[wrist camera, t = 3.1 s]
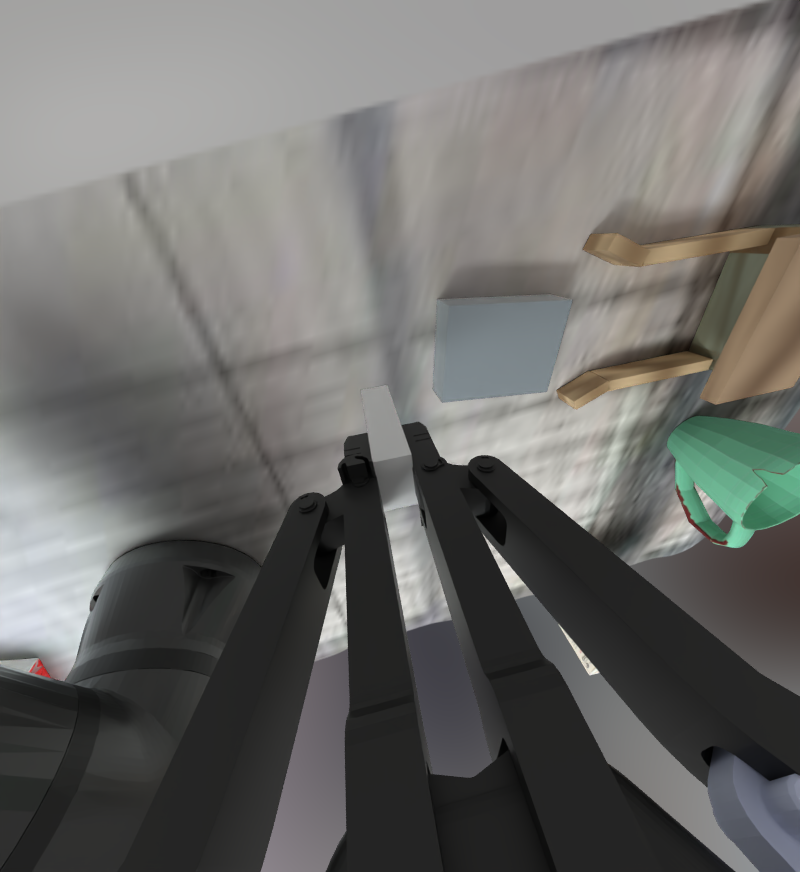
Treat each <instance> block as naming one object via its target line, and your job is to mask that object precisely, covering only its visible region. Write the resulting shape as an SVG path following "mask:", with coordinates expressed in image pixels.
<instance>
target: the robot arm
mask: <svg viewBox="0 0 800 872" xmlns="http://www.w3.org/2000/svg"><path fill="white" fill-rule="evenodd" d="M361 395H362V402H363V408H364V414H365V420H366V426H367V432H368V433H364V434H359V435H354V436H349V437H348V438H347V439H346V441H345V443H344V456H345V458H344V459H343V460H342V461H341V462H340V463H339V465H338V471H339V474H340V477H341V480H342V484H343V485H342V486H341V487H340V488H339V489H338V490H337V491H335V492H333V493H332V494H329V495H327V496H325V497H324V496H323V495H321V494H320V493H314V492H313V493H307V494H304V495H302V496H300V497H299V498H297V499H296V500H295V501H294V502H293V503H292V505H291V506H290V508H289V510H288V512H287V515H286V517H285V519H284V521H283V523H282V525H281V527H280V530H279V532H278V534H277V536H276V538H275V540H274V542H273V544H272V547H271V549H270V551H269V553H268V555H267V557H266V559H265V562H264V564H263V566H262V568H261V567H260V566H259V564H257V563H256V562H255V561H254V560H253V559H251V558H250V557H248V556H247V555H245V554H243V553H241V552H239V551H237V550H234V549H232V548H229V547H226V546H222V545H218V544H213V543H208V542H200V541H168V542H161V543H155V544H150V545H146V546H143V547H140V548H137V549H135V550H132V551H130V552H128V553H126V554H124V555H123V556H121V557H120V558H118V559H117V560H116V561H115V562H114V563H113V564H112V565H111V566H110V567H109V569H108V570H107V572H106V573H105V575H104V576H103V578H102V579H101V581H100V582H99V584H98V585H97V587H96V588H95V590H94V592H93V595H92V598H91V601H90V614H89V617H88V619H87V622H86V625H85V628H84V631H83V634H82V638H81V642H80V646H79V650H78V654H77V658H76V661H75V664H74V666H73V668H72V670H71V672H70V673H69V675H68V677H67V678H66V680H65V682H63V681H60V680H56V679H52V678H48V677H45V676H41V675H37V674H34V673H30V672H26V671H23V670H19V669H15V668H12V667H8V666H4V665H1V664H0V872H260V871H261V868H262V865H263V861H264V858H265V854H266V851H267V847H268V844H269V840H270V837H271V833H272V829H273V826H274V822H275V818H276V814H277V810H278V805H279V801H280V797H281V793H282V789H283V785H284V781H285V777H286V773H287V769H288V765H289V761H290V757H291V752H292V749H293V744H294V741H295V737H296V733H297V729H298V724H299V720H300V716H301V712H302V708H303V704H304V700H305V696H306V692H307V688H308V684H309V680H310V676H311V671H312V668H313V663H314V660H315V656H316V652H317V648H318V644H319V640H320V635H321V631H322V627H323V623H324V619H325V615H326V611H327V607H328V603H329V599H330V595H331V591H332V587H333V583H334V579H335V575H336V571H337V567H338V563H339V559H340V555H341V550H342V545H344V544H345V568H346V599H347V630H348V661H349V689H350V708H349V714H348V717H347V720H346V728H345V773H346V774H345V780H346V826H347V827H346V829H347V831H346V832H345V834H344V835H343V837H342V839H341V840H340V842H339V844H338V846H337V848H336V850H335V852H334V854H333V856H332V858H331V861H330V863H329V865H328V868H327V870H326V872H735V871H734V870H733V869H732V868H730V867H729V866H728V865H727V864H725V862H723V861H722V860H721V859H720V858H719V857H718V856H717V855H715V854H714V853H713V852H712V851H711V850H710V849H708V848H707V847H706V846H705V845H704V844H703V843H701V842H700V841H699V840H698V839H697V838H696V837H694V836H693V835H692V834H691V833H690V832H689V831H688V830H687V829H685V828H684V827H683V826H682V825H681V824H680V823H678V822H677V821H676V820H675V819H674V818H672V816H670V815H669V814H668V813H667V812H666V811H664V810H663V809H662V808H661V807H660V806H659V805H658V804H657V803H655V802H654V801H653V800H652V799H651V798H650V797H648V796H647V795H646V794H645V793H644V792H643V791H642V790H640V789H639V788H638V787H637V786H636V785H635V784H633V783H632V782H631V781H630V780H628V778H626V777H625V776H624V775H623V774H622V773H620V772H619V771H618V770H616V769H615V768H614V767H612V766H611V765H609V764H608V763H607V762H606V760H605V758H604V756H603V754H602V752H601V750H600V748H599V746H598V744H597V742H596V740H595V738H594V736H593V734H592V733H591V731H590V729H589V727H588V725H587V723H586V721H585V719H584V717H583V715H582V713H581V711H580V709H579V707H578V705H577V703H576V701H575V700H574V698H573V696H572V694H571V692H570V690H569V688H568V686H567V684H566V682H565V681H564V679H563V677H562V675H561V674H560V672H559V671H558V669H557V668H556V667H555V666H554V664H553V663H551V662H550V661H548V660H547V659H546V658H545V657H544V656H543V655H542V653H541V651H540V650H539V648H538V646H537V644H536V642H535V640H534V638H533V636H532V634H531V632H530V630H529V628H528V626H527V624H526V622H525V620H524V618H523V616H522V614H521V611H520V609H519V607H518V606H517V603H516V601H515V599H514V597H513V595H512V593H511V591H510V589H509V587H508V585H507V583H506V581H505V579H504V577H503V575H502V573H501V571H500V569H499V567H498V565H497V563H496V561H495V559H494V557H493V555H492V553H491V550H490V548H489V546H488V544H487V542H486V540H485V538H484V536H485V537H486V538H487V539H488V540H489V542H490V543H491V544H492V545H493V546H494V548H495V549H496V550H497V551H498V552H499V553H500V555H501V556H502V557H503V558H504V559H505V561H506V562H507V563H508V564H509V565H510V567H511V568H512V569H513V570H514V571H515V572H516V574H517V575H518V576H519V577H520V578H521V580H522V581H523V582H524V583H525V584H526V586H527V587H528V588H529V589H530V590H531V591H532V593H533V594H534V595H535V596H536V597H537V598H538V600H539V601H540V602H541V603H542V604H543V606H544V607H545V608H546V609H547V611H548V612H549V613H550V614H551V615H552V616H553V617H554V619H555V620H556V621H557V622H558V624H559V625H560V626H561V627H562V628H563V630H564V631H565V632H566V633H567V634H568V635H569V637H570V638H571V639H572V640H573V641H574V643H575V644H576V645H577V646H578V647H579V649H580V650H581V651H582V652H583V653H584V655H585V656H586V657H587V658H588V659H589V660H590V662H591V663H592V664H593V665H594V666H595V668H596V669H597V670H598V671H599V672H600V674H601V675H602V676H603V677H604V678H605V679H606V681H607V682H608V683H609V684H610V685H611V686H612V688H613V689H614V690H615V691H616V693H617V694H618V695H619V696H620V697H621V699H622V700H623V701H624V702H625V703H626V704H627V705H628V707H629V708H630V709H631V710H632V711H633V713H634V714H635V715H636V716H637V717H638V719H639V720H640V721H641V722H642V723H643V724H644V725H645V726H646V728H647V729H648V730H649V731H650V732H651V733H652V734H653V735H654V737H655V738H656V739H657V740H658V741H659V742H660V743H661V744H662V745H663V746H664V747H665V748H666V749H667V750H668V751H669V752H670V753H671V754H672V755H673V756H674V757H675V758H676V759H677V760H678V761H679V762H680V763H681V764H682V765H683V766H684V767H685V768H686V769H687V770H688V771H689V772H690V773H691V774H693V775H694V776H695V777H696V778H697V779H698V780H699V781H701V782H702V783H703V784H704V785H705V786H706V787H708V794H709V798H710V801H711V805H712V808H713V814H714V816H715V819H716V821H717V823H718V825H719V827H720V828H721V829H722V831H723V832H724V833H725V835H726V836H727V837H728V838H729V839H730V840H731V841H732V842H734V843H735V844H736V846H737V847H738V848H739V849H740V850H741V851H742V852H743V854H744V855H745V856H746V857H747V858H748V859H749V860H750V861H751V863H752V864H753V865H754V866H755V867H756V868H757V869H758V870H759V872H800V696H798V695H796V694H794V693H793V692H791V691H789V690H788V689H786V688H784V687H782V686H781V685H779V684H777V683H776V682H774V681H772V680H770V679H769V678H767V677H765V676H763V675H762V674H760V673H759V672H757V671H756V670H755V669H754V668H753V667H752V666H750V665H749V664H748V663H747V662H746V661H744V660H743V659H742V658H741V657H739V656H738V655H737V654H736V653H734V652H733V651H732V650H731V649H730V648H728V647H727V646H726V645H725V644H724V643H722V642H721V641H720V640H719V639H717V638H716V637H715V636H714V635H713V634H711V633H710V632H709V631H708V630H707V629H705V628H704V627H703V626H702V625H700V624H699V623H698V622H697V621H695V620H694V619H693V618H692V617H690V616H689V615H688V614H687V613H686V612H685V611H683V610H682V609H681V608H680V607H678V606H677V605H676V604H675V603H673V602H672V601H671V600H670V599H669V598H667V597H666V596H665V595H664V594H663V593H661V592H660V591H659V590H658V589H657V588H655V587H654V586H653V585H652V584H650V583H649V582H648V581H646V580H645V579H644V578H643V577H642V576H640V575H639V574H638V573H637V572H636V571H634V570H633V569H632V568H631V567H630V566H628V565H627V564H626V563H625V562H624V561H622V560H621V559H620V558H619V557H617V556H616V555H615V554H614V553H613V552H611V551H610V550H609V549H608V548H607V547H605V546H604V545H603V544H602V543H600V542H599V541H598V540H597V539H596V538H594V537H593V536H592V535H591V534H589V533H588V532H587V531H586V530H585V529H583V528H582V527H581V526H580V525H578V524H577V523H576V522H575V521H574V520H572V519H571V518H570V517H569V516H567V515H566V514H565V513H564V512H563V511H561V510H560V509H559V508H558V507H557V506H555V505H554V504H553V503H552V502H550V501H549V500H548V499H547V498H546V497H544V496H543V495H542V494H541V493H539V492H538V491H537V490H536V489H535V488H533V487H532V486H531V485H530V484H528V483H527V482H526V481H525V480H524V479H522V478H521V477H520V476H519V475H517V474H516V473H515V472H514V471H513V470H511V469H510V468H509V467H508V466H506V465H505V464H504V463H503V462H502V461H500V460H499V459H497V458H495V457H492V456H488V455H481V456H477V457H475V458H473V459H471V460H470V462H469V463H468V465H453V464H449V463H447V461H446V460H445V459H444V458H442V457H440V456H439V453H438V451H437V449H436V447H435V445H434V443H433V441H432V439H431V437H430V435H429V433H428V430H427V428H426V426H424V425H423V424H421V423H420V422H415V423H410V424H405V425H401V423H400V420H399V417H398V414H397V412H396V409H395V406H394V403H393V400H392V397H391V394H390V392H389V389H388V386H387V385H384V386H378V387H373V388H368V389H362V390H361ZM417 500H418V501H417ZM418 503H419V508H420V516H421V524H422V526H424V528H425V531H426V535H427V538H428V541H429V545H430V548H431V551H432V555H433V558H434V561H435V564H436V568H437V571H438V574H439V578H440V581H441V584H442V588H443V591H444V594H445V597H446V601H447V604H448V607H449V611H450V614H451V617H452V621H453V624H454V627H455V631H456V634H457V637H458V640H459V644H460V647H461V650H462V654H463V657H464V660H465V663H466V667H467V670H468V674H469V677H470V680H471V683H472V687H473V690H474V693H475V696H476V700H477V703H478V707H479V710H480V714H481V719H482V724H483V729H484V733H485V737H486V741H487V744H488V748H489V751H490V755H491V758H492V761H493V763H491V764H490V765H489V766H488V767H486V768H485V769H484V770H483V771H482V772H480V773H479V774H478V775H476V776H475V777H472V778H463V777H454V776H444V775H434V774H433V773H432V767H431V762H430V756H429V751H428V746H427V742H426V737H425V732H424V726H423V721H422V715H421V710H420V705H419V700H418V694H417V688H416V682H415V677H414V671H413V666H412V661H411V655H410V649H409V644H408V639H407V633H406V627H405V622H404V616H403V611H402V605H401V600H400V594H399V589H398V583H397V578H396V572H395V567H394V561H393V556H392V550H391V545H390V539H389V534H388V529H387V523H386V518H385V514H384V512H385V511H390V510H394V509H399V508H403V507H408V506H412V505H417V504H418ZM482 533H483V534H484V536H483V534H482Z"/></svg>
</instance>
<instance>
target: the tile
mask: <svg viewBox="0 0 800 872" xmlns="http://www.w3.org/2000/svg"><path fill="white" fill-rule="evenodd" d="M572 301H573V300H572V299H568V298H564V297H560V296H556V295H552V294H539V295H518V296H496V297H474V298H452V299H437V311H436V331H435V351H434V370H433V390H434V392H435V393H436V395H437V396H438V397H439V399H440V400H441V402H452V401H462V400H472V399H482V398H492V397H502V396H511V395H521V394H531V393H541V392H547V390H548V386H549V383H550V379H551V376H552V372H553V368H554V365H555V361H556V358H557V354H558V351H559V347H560V344H561V340H562V336H563V333H564V329H565V326H566V322H567V319H568V315H569V311H570V308H571V304H572Z"/></svg>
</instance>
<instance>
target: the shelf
mask: <svg viewBox="0 0 800 872" xmlns="http://www.w3.org/2000/svg"><path fill="white" fill-rule="evenodd" d="M583 250H584V251H586V252H588V253H590V254H592V255H594V256H597V257H599V258H601V259H603V260H605V261H607V262H609V263H611V264H613V265H622V266H635V267H641V266H647V265H653V264H658V263H664V262H670V261H676V260H682V259H687V258H693V257H699V256H705V255H710V254H716V253H722V252H728V251H730V253H729V255H728V258H727V260H726V263H725V265H724V267H723V270H722V272H721V274H720V277H719V279H718V282H717V284H716V286H715V289H714V291H713V294H712V296H711V298H710V301H709V303H708V305H707V308H706V310H705V313H704V315H703V317H702V320H701V322H700V324H699V327H698V329H697V332H696V334H695V336H694V339H693V341H692V343H691V346H690V348H689V351H684V352H680V353H675V354H670V355H665V356H660V357H655V358H650V359H645V360H641V361H636V362H631V363H626V364H621V365H616V366H611V367H606V368H602V369H597V370H592V371H587V372H586V373H584V374H583V375H581V376H579V377H578V378H576V379H574V380H573V381H571V382H570V383H568V384H566V385H565V386H563V387H561V388H560V389H558V390H557V393H558V396H559V398H560V399H561V400H562V401H564V402H565V403H567V404H568V405H570V406H571V407H573V408H574V409H576V410H577V409H578V408H580V407H582V406H583V405H585V404H587V403H588V402H590V401H592V400H593V399H595V398H597V397H598V396H600V395H602V394H604V393H605V392H607V391H612V390H616V389H621V388H626V387H630V386H635V385H640V384H644V383H649V382H654V381H658V380H663V379H668V378H672V377H677V376H682V375H687V374H691V373H696V372H701V371H705V370H708V369H710V370H713V371H712V373H711V375H710V377H709V379H708V381H707V383H706V386H705V388H704V390H703V392H702V394H701V396H700V398H701V399H703V400H706V401H708V402H710V403H713V404H715V405H717V404H721V403H725V402H730V401H734V400H739V399H743V398H748V397H752V396H756V395H761V394H765V393H770V392H774V391H779V390H783V389H787V388H792V387H793V386H794V385H795V383H796V382H797V380H798V379H799V377H800V224H790V225H763V226H753V227H747V228H741V229H735V230H729V231H723V232H717V233H711V234H705V235H699V236H693V237H687V238H681V239H675V240H669V241H663V242H657V243H651V244H644V245H639V244H637V243H635V242H633V241H631V240H629V239H627V238H626V237H624V236H622V235H620V234H618V233H607V234H591V235H590V236H589V238H588V240H587V242H586V244H585V246H584V248H583Z"/></svg>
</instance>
